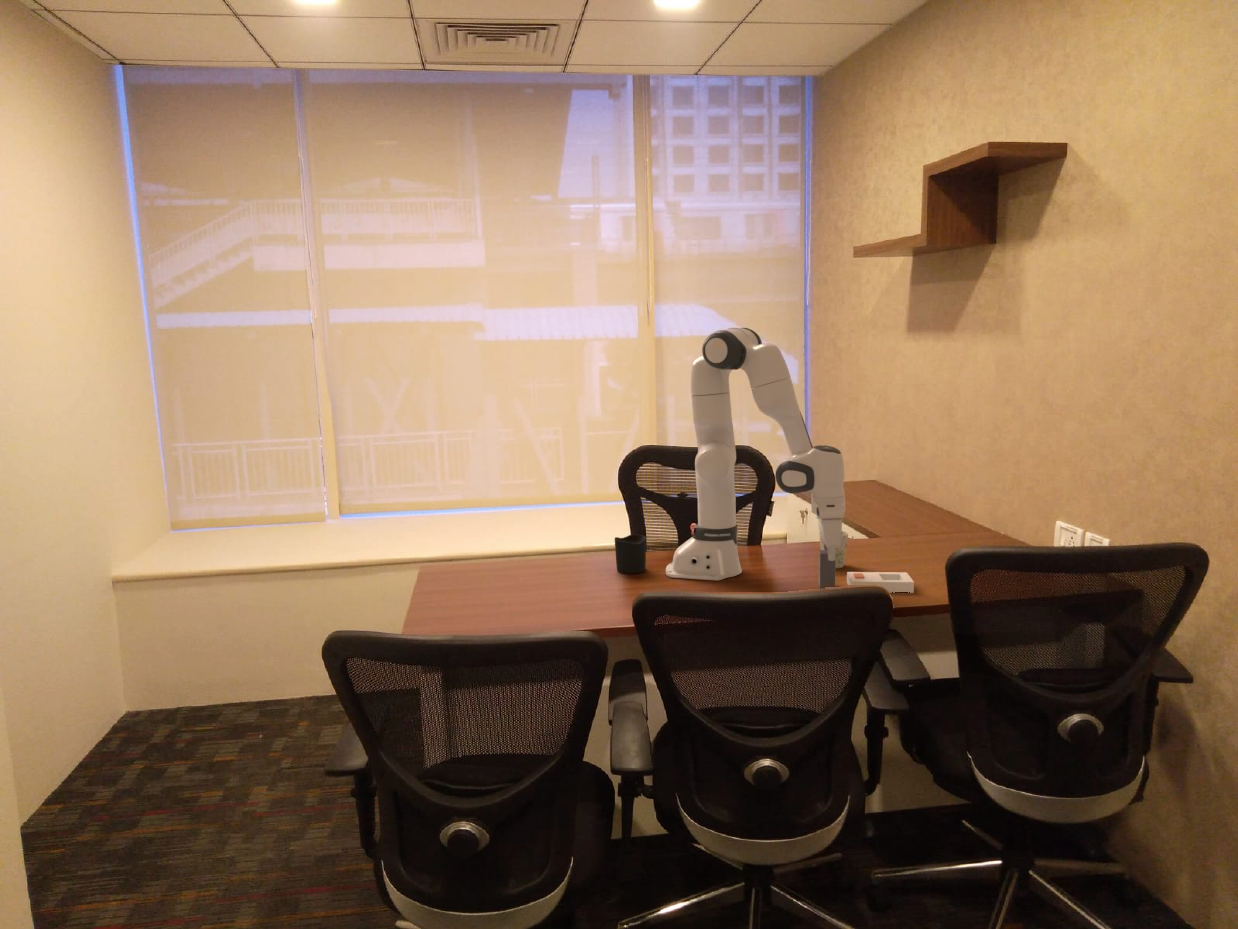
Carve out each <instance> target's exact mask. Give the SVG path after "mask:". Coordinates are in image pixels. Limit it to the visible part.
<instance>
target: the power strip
mask: <svg viewBox="0 0 1238 929" xmlns="http://www.w3.org/2000/svg"><path fill="white" fill-rule="evenodd" d="M846 584H847V586H848V585H877V586H882V587H884V588H885V589H887V590H888V591H889V592H890V594H896V593H895V592H908V593H907V594H914V592H915V586H914V585H915V581H914V580H913V579H912V577H911V576H910V575H909V573H908V572H907V571H906V572H905V571H904V572H897V571H896V572H893V571H891V572H889V571H888V572H887V571H886V572H884V571H883V572H882V571H881V572H880V571H873V572H872V571H847V572H846ZM892 592H893V593H892ZM909 592H910V593H909Z"/></svg>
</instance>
